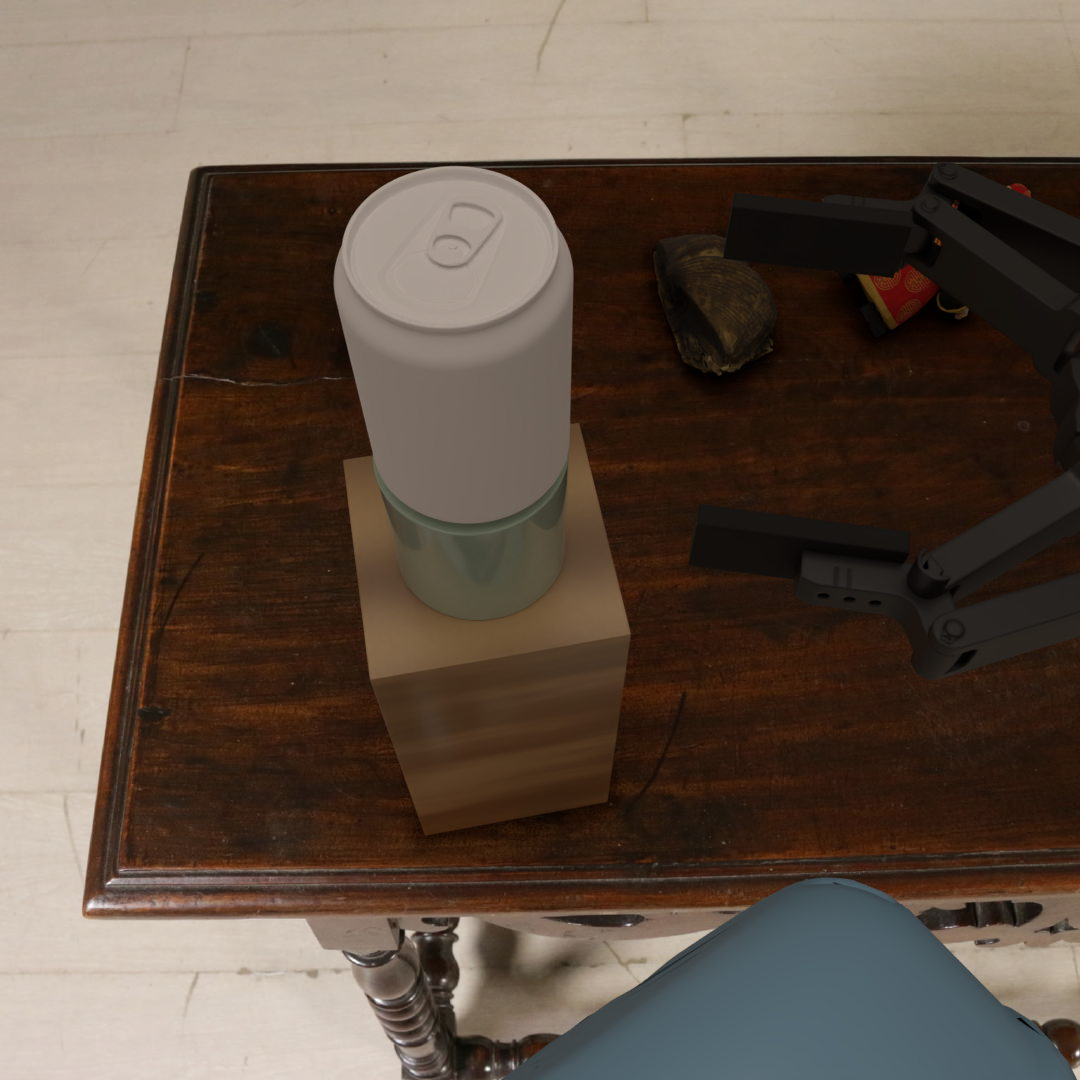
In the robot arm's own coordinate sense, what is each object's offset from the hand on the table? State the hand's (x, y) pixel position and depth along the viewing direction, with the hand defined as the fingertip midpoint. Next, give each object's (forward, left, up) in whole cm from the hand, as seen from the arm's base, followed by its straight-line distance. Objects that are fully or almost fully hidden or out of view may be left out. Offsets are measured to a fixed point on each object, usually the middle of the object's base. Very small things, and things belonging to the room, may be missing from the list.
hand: (710, 368), depth 41 cm
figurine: (+34, -32, -42) cm, 63 cm away
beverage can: (+3, +8, -8) cm, 12 cm away
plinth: (+3, +8, -42) cm, 43 cm away
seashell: (+35, -15, -42) cm, 57 cm away
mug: (+5, +8, -16) cm, 19 cm away
